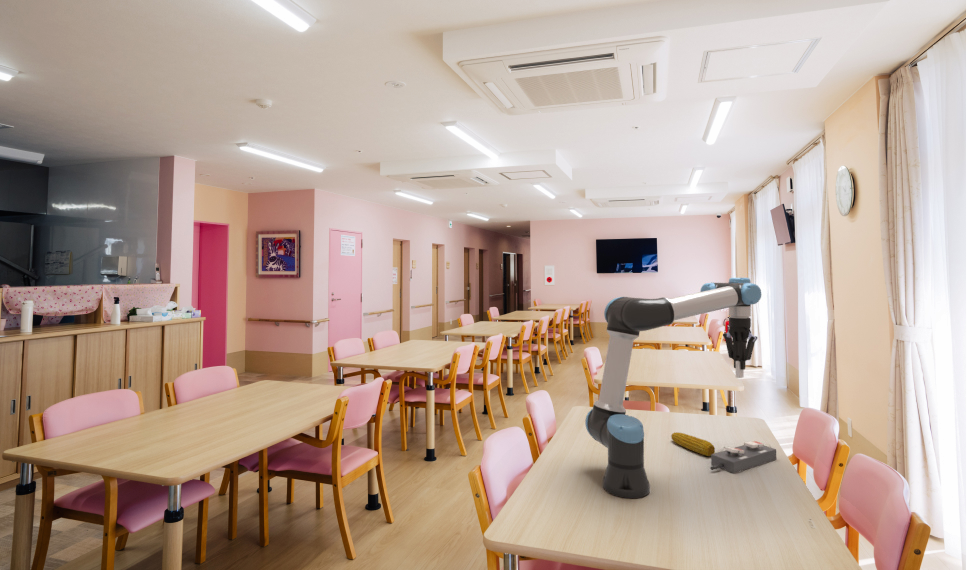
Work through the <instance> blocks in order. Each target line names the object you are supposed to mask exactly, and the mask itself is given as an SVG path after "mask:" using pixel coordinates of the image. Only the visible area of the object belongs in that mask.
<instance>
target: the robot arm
mask: <svg viewBox="0 0 967 570" xmlns="http://www.w3.org/2000/svg"><path fill="white" fill-rule="evenodd" d="M761 298H762V290H761V288H760V286H759V285H758V284H756V283H752V282H751V278H749V277H730V278H729V280H728V282H706V283H704V284H703V285H702V286H701V288H700V292H694V293H691V294H686V295H682V296H677V297H671V298H667V297H659V298H642V297H629V296H620V297H618V296H617V297H615V298H612V300H610V301H609V302H608V303H607V304H606V306H605V308H604V312H603V313H604V314H603V315H604V320H605V322H606V324H607V327H606V332H607V334H608V336H609V339H608V345H607V351H606V356H605V362H604V367H603V368H604V369H603V374H602V379H601V385H600V392H599V396H598V399H597V400H596V401H594V402H593V405H592V409H591V410H590V411H588V412H587V415H586V416H585V421H584V422H585V428H586V431H587V432H588V434H589V435H590V436H591V437H592V438H593V439H594V441H596V442H599V444H601V445H602V446H603V447H605V448H606V449H607V465H606V469H605V473H604V475H603V478H602V487H603V489H604V490H605V492H607V493H608V494H611V495H613V496H615V497H620V498H626V499H638V498H639V499H640V498H644V497H645V496H648V495H649V494H650V487H651V485H650V482H649V479H648V475H647V473H646V469H645V453H644V452H645V447H644V445H645V443H644V441H645V440H644V438H645V431H644V424H643V423H642V422H641V420H640V419H638V418H637V417H635V416H632V415H628V414H627V409H626V408H625V407H624V400H625V393H626V388H627V387H626V386H627V382H628V374H629V370H630V369H629V368H630V363H631V357H632V351H633V346H634V341H635V340H636V339H638V338H639V337H640V332H644V331H645V332H646V331H651V330H654V329H658V328H661V327H666V326H669V325H672V324H673V323H674V322H675V321H677V320H682V319H685V318H691V317H694V316H699V315H703V314H707V313H713V312H714V311H715V312H716V311H720V310H725V309H727V308H728V316H729V317H728V326H729V329H728V331H727V332H726V333H723V334H722V337H723V338H724V340H725V345H726V350H727V354H728V358H729V359H731V360H732V361H733V368H734V369H735V378H737V379H742V378H744V372H745V371H744V370H745V369H746V362H747V361H751V359H752V355H753V352H754V346H755V342H756V341H757V340H758V336H756V335H754V334H752V331H751V326H752V323H751V321H752V319H751V316H752V315H751V314H752V313H751V311H752V309H751V308H752V307H751V305H755V304H758V303H759V302H760V300H761Z"/></svg>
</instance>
